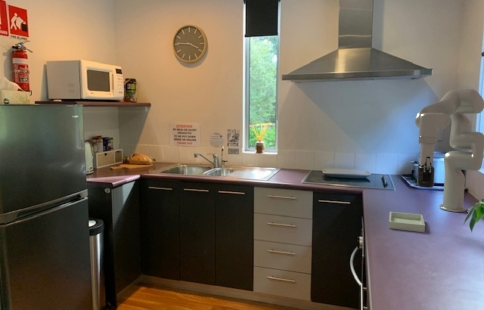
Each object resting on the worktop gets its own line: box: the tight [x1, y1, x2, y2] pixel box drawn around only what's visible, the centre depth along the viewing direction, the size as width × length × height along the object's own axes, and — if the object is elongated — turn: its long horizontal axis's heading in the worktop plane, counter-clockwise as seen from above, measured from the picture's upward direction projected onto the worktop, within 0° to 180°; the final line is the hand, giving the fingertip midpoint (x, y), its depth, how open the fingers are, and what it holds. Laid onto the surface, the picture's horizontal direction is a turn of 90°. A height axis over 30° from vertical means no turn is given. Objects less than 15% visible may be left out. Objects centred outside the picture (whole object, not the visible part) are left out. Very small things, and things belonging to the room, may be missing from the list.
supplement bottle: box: [416, 165, 435, 189], centre depth 166 cm, size 7×7×12 cm
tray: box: [388, 211, 426, 233], centre depth 171 cm, size 18×15×3 cm
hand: (425, 179), depth 166 cm, fingers closed on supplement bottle, 6 cm apart
